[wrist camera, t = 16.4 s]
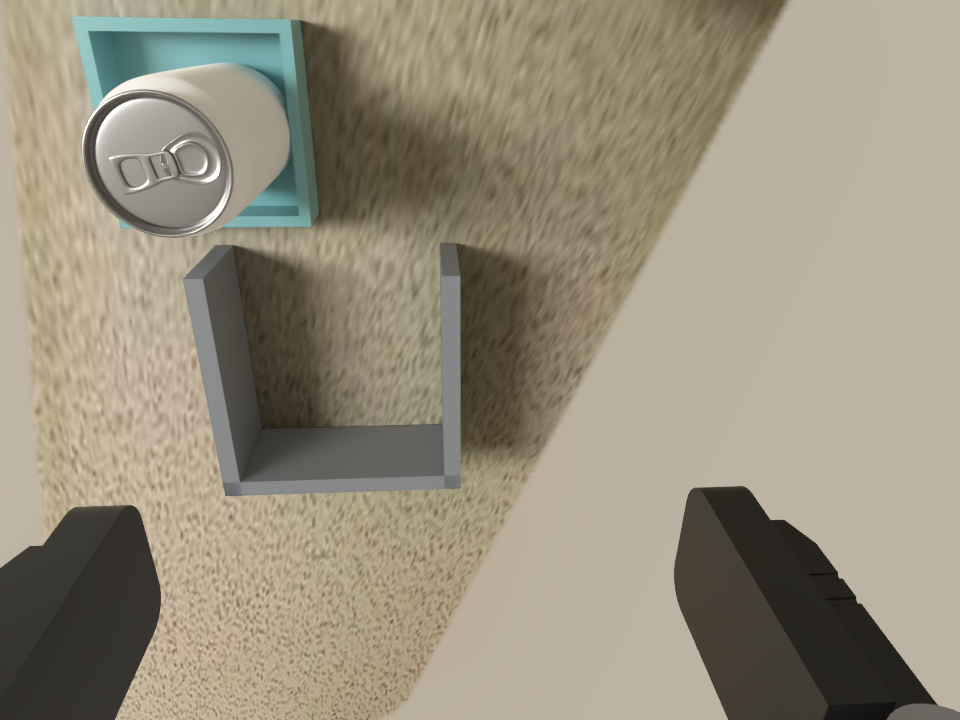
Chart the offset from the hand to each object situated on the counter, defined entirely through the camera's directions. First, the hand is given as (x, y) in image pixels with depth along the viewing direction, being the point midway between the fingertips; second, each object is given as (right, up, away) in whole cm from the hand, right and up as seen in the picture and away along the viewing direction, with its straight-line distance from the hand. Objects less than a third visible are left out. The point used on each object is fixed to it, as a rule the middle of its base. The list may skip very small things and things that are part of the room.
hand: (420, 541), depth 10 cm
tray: (-14, +16, +27) cm, 34 cm away
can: (-12, +16, +27) cm, 33 cm away
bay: (-8, +3, +34) cm, 35 cm away
